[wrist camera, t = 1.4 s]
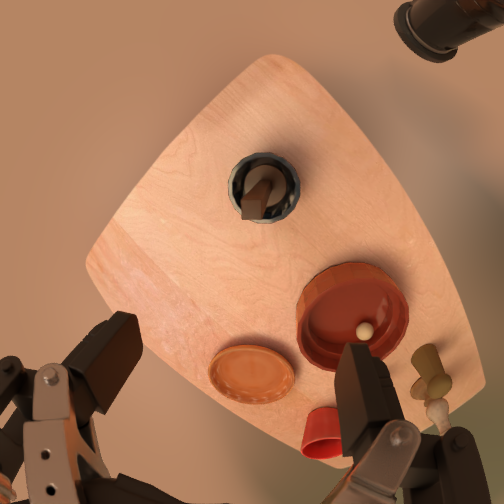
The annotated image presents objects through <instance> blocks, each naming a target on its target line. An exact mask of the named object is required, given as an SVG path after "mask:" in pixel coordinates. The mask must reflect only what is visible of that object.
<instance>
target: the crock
mask: <svg viewBox="0 0 504 504" xmlns="http://www.w3.org/2000/svg"><path fill="white" fill-rule="evenodd" d="M267 163H269V164H274V165H276V166H278V167H279V168H281V169H282V171H283V172H284V174H285V176H286V181H287V190H286V194H285V196H284V197H283V199H282V200H281V201H280V202H279V203H277V204H275V205H273V206H269V207H266V209H265V212H264V215H263V218H262V220H250V221H253V222H255V223H274V222H277V221H279V220H282V219H284V218H285V217H287V216H288V215H289V214H290V213H291V212H292V211H293V210H294V209H295V207H296V204H297V202H298V200H299V197H300V180H299V177H298V175H297V173H296V170H295V168H294V167H293V166H292V165H291V164H290V163H289V162H288V161H287V160H286V159H285V158H284V157H282V156H279V155H277V154H274V153H254V154H252V155H250V156H247V157H245V158H243V159H242V160H241V161H240V162H239V163H238V164H237V165H236V166H235V167H234V168H233V170H232V172H231V175H230V178H229V180H228V195H229V198H230V200H231V202H232V205H233V207H234V208H235V210H236V211H237V212H238V213H240V214H241V199H242V198H243V197H244V196H245V195H246V193H245V189H244V182H245V178H246V176H247V174H248V173H249V172H250V171H251V170H252V169H253V168H255V167H257V166H259V165H262V164H267Z"/></svg>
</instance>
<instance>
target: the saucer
mask: <svg viewBox="0 0 504 504" xmlns="http://www.w3.org/2000/svg"><path fill="white" fill-rule="evenodd" d="M208 376H209V379H210V382H211V384H212V385H213V387H214V388H215V389H216V390H217V391H218V392H219V393H221V394H222V395H224V396H225V397H227V398H229V399H231V400H234V401H237V402H240V403H245V404H267V403H271V402H275V401H277V400H279V399H281V398H283V397H284V396H286V395H287V394H288V393H289V392H290V391H291V389H292V387H293V385H294V381H295V376H294V371H293V368H292V366H291V364H290V363H289V362H288V361H287V360H286V359H285V358H284V357H283V356H282V355H280V354H279V353H277V352H275V351H273V350H271V349H268V348H265V347H261V346H256V345H238V346H233V347H229V348H227V349H224V350H222V351H221V352H219V353H218V354H217V355H216V356H215V357H214V358H213V359H212V361H211V363H210V365H209V368H208Z"/></svg>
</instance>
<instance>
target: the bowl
mask: <svg viewBox="0 0 504 504" xmlns="http://www.w3.org/2000/svg"><path fill="white" fill-rule="evenodd" d="M364 322H367V323H369V324H371V325H372V327H373V330H374V332H373V335H372V337H371V338H370V339H368V340H361V339H359V338H358V337H357V335H356V329H357V327H358V326H359V325H360V324H361V323H364ZM408 323H409V307H408V304H407V302H406V300H405V298H404V296H403V294H402V292H401V291H400V290H399V288H398V287H397V285H396V284H395V283H394V281H393V280H392V279H391V277H390V276H388V275H387V274H386V273H385V272H384V271H383V270H381V269H380V268H378V267H376V266H373V265H370V264H367V263H344V264H341V265H337V266H334V267H330V268H329V269H327V270H326V271H324V272H322V273H321V274H319V275H318V276H316V277H315V278H314V279H313V280H312V281H311V282H310V283H309V284H308V285H307V287H306V288H305V289H304V290H303V292H302V294H301V296H300V299H299V301H298V303H297V309H296V335H297V342H298V345H299V348H300V351H301V353H302V354H303V355H304V356H305V358H306V359H307V360H308V361H309V362H310V363H311V364H313V365H315V366H317V367H319V368H320V369H322V370H326V371H331V372H336V370H337V367H338V364H339V362H340V359H341V356H342V353H343V350H344V347H345V345H346V343H348V342H351V343H367V344H368V346H369V349H370V352H371V355H372V356H378V357H379V358H380V359H381V360H383V359H385V358H386V357H387V356H388V355H389V354H390V353H391V352H393V351H394V350H395V348H396V347H397V346H398V345H399V343H400V342H401V340H402V339H403V337H404V335H405V332H406V329H407V326H408Z"/></svg>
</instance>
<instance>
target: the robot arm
mask: <svg viewBox="0 0 504 504" xmlns="http://www.w3.org/2000/svg"><path fill="white" fill-rule="evenodd" d="M405 23H406V26H407V28H408V30H409V31H410V33H411V34H412V36H413V37H414V38H415V39H416V40H417V41H418V42H419V43H420V44H421V45H422V46H424V47H425V48H427V49H428V50H430V51H432V52H435V53H440V54H444V53H447V52H449V51H451V50H453V49H456V47H457V48H458V46H460V45H462V44H464V43H466V42H468V41H470V40H472V39H474V38H476V37H478V36H480V35H483V34H485V33H487V32H489V31H492V30H494V29H496V28H498V27H501V26H503V25H504V0H413V1H412V2H411V3H410V4H409V9H408V10H407V11H406V13H405ZM142 352H143V343H142V338H141V333H140V328H139V323H138V318H137V316H136V315H135V314H131V313H126V312H122V311H117V312H116V313H115V314H114V315H113V316H112V317H111V318H110V319H109V320H105V321H103V322H102V323H100V324H98V325H96V326H95V327H94V328H93V329H92V330H91V331H90V332H89V334H88V335H86V336H85V338H84V339H83V341H81V342H80V343H79V344H78V345H77V346H76V347H75V348H74V350H73V351H72V352H71V353H70V354H69V355H68V356H67V357H66V359H65V360H64V361H63V362H62V363H61V364H58V363H50V364H46V365H44V366H43V367H41V368H40V369H39V370H38V371H37V370H31V369H26V368H24V366H23V365H22V363H21V361H20V359H19V358H18V357H16V356H7V357H4V358H3V359H1V360H0V415H1V414H2V412H3V411H4V410H5V408H6V407H7V405H8V404H9V403H10V401H11V400H12V401H13V402H14V404H15V405H16V407H17V408H16V410H15V411H14V412H13V414H12V415H11V417H10V418H9V420H8V421H7V423H6V424H5V426H4V427H3V428H2V429H1V428H0V504H189V503H184V502H182V501H179V500H178V499H176V498H174V497H172V496H170V495H168V494H167V493H165V492H163V491H161V490H159V489H158V488H156V487H154V486H153V485H151V484H148V483H145V482H142V481H139V480H136V479H134V478H131V477H129V476H126V475H124V474H121V473H119V474H118V477H117V479H115V478H111V476H110V474H109V472H108V470H107V468H106V466H105V464H104V462H103V460H102V457H101V454H100V449H99V445H98V441H97V436H96V431H95V427H94V421H93V418H92V414H93V413H94V411H97V412H99V413H101V414H104V415H105V414H106V413H107V411H108V409H109V407H110V406H111V404H112V403H113V401H114V399H115V398H116V396H117V394H118V393H119V391H120V389H121V388H122V386H123V385H124V383H125V382H126V380H127V378H128V377H129V375H130V374H131V372H132V371H133V369H134V367H135V366H136V364H137V363H138V361H139V360H140V358H141V356H142ZM334 387H335V394H336V401H337V409H338V417H339V425H340V434H341V444H342V454H343V457H349V456H353V462H354V464H353V465H352V466H351V468H350V469H349V470H348V471H347V473H346V474H345V475H344V477H343V478H342V479H341V480H340V481H339V483H338V484H337V485H336V486H335V487H334V489H333V490H332V491H331V492H330V493H329V495H328V496H327V497H326V498H325V499H324V500H323V501H322V502H321V503H320V504H395V503H396V500H397V498H396V497H395V493H396V491H397V489H398V488H399V487H402V488H403V497H404V504H491V500H490V494H489V489H488V485H487V481H486V477H485V473H484V469H483V465H482V462H481V458H480V455H479V452H478V449H477V446H476V443H475V440H474V437H473V435H472V434H471V433H470V431H468V430H467V429H465V428H463V427H452V428H450V429H449V430H448V431H447V432H446V433H445V434H444V435H443V436H439V435H430V434H423V433H420V431H419V429H418V428H417V427H416V426H415V425H414V424H413V423H411V422H409V421H407V420H405V418H404V415H403V412H402V409H401V406H400V403H399V400H398V397H397V394H396V391H395V388H394V387H393V382H392V379H391V378H390V374H389V371H388V368H387V366H386V365H385V363H384V362H383V361H382V360H381V359H380V358H379V357H378V356H372V355H371V352H370V349H369V346H368V344H367V343H351V342H348V343H346V345H345V347H344V350H343V353H342V356H341V359H340V362H339V364H338V367H337V370H336V373H335V380H334ZM23 462H24V463H25V473H26V482H27V489H28V494H29V499H27V500H22V501H18V502H13V503H10V500H12V501H14V500H15V499H16V497H17V496H16V492H15V491H14V490H13V489H12V486H11V485H12V482H13V481H14V479H15V477H16V475H17V473H18V471H19V469H20V467H21V465H22V463H23ZM223 504H228V503H223Z"/></svg>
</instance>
